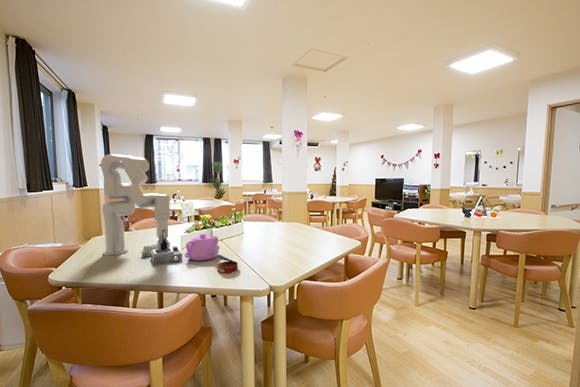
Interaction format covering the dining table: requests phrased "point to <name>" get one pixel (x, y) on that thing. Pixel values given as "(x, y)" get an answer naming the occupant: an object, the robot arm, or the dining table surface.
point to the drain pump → (160, 247)
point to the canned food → (226, 265)
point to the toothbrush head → (148, 249)
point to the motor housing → (166, 256)
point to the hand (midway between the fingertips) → (163, 248)
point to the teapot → (202, 248)
